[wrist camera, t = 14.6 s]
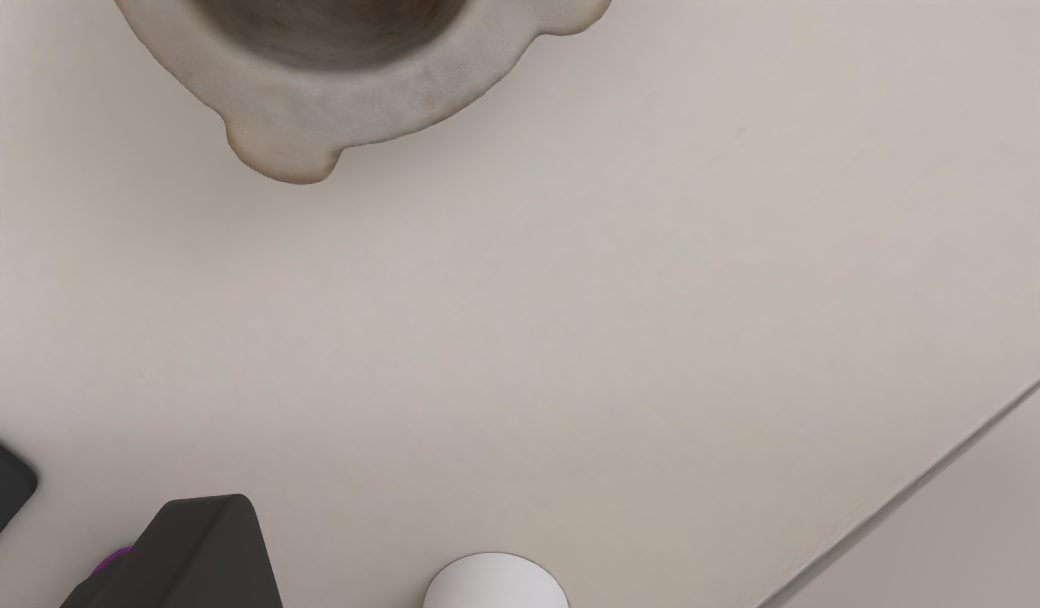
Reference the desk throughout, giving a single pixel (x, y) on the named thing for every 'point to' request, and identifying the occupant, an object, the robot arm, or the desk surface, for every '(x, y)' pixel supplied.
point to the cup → (494, 584)
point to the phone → (13, 485)
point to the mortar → (340, 66)
